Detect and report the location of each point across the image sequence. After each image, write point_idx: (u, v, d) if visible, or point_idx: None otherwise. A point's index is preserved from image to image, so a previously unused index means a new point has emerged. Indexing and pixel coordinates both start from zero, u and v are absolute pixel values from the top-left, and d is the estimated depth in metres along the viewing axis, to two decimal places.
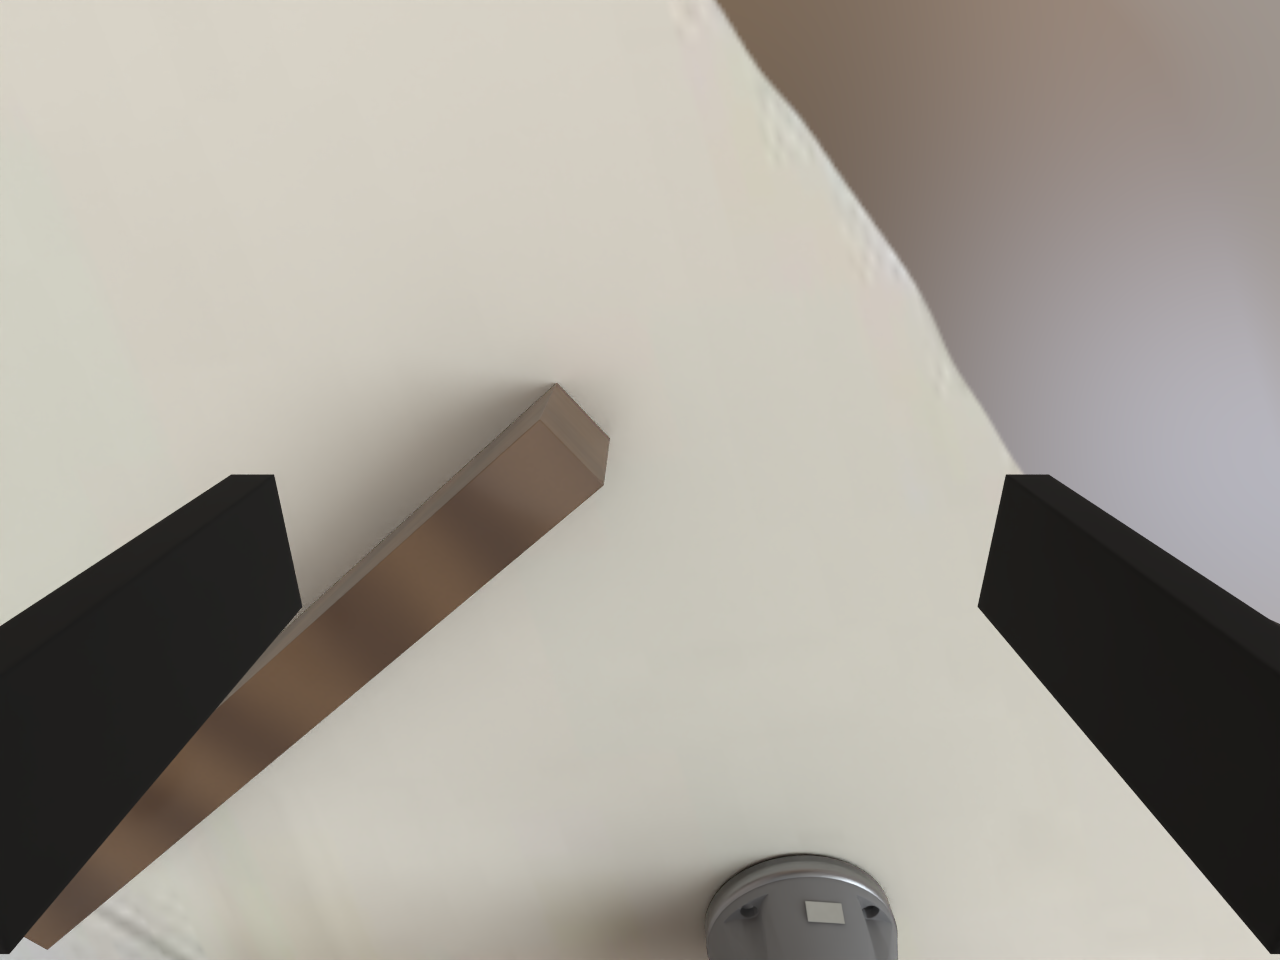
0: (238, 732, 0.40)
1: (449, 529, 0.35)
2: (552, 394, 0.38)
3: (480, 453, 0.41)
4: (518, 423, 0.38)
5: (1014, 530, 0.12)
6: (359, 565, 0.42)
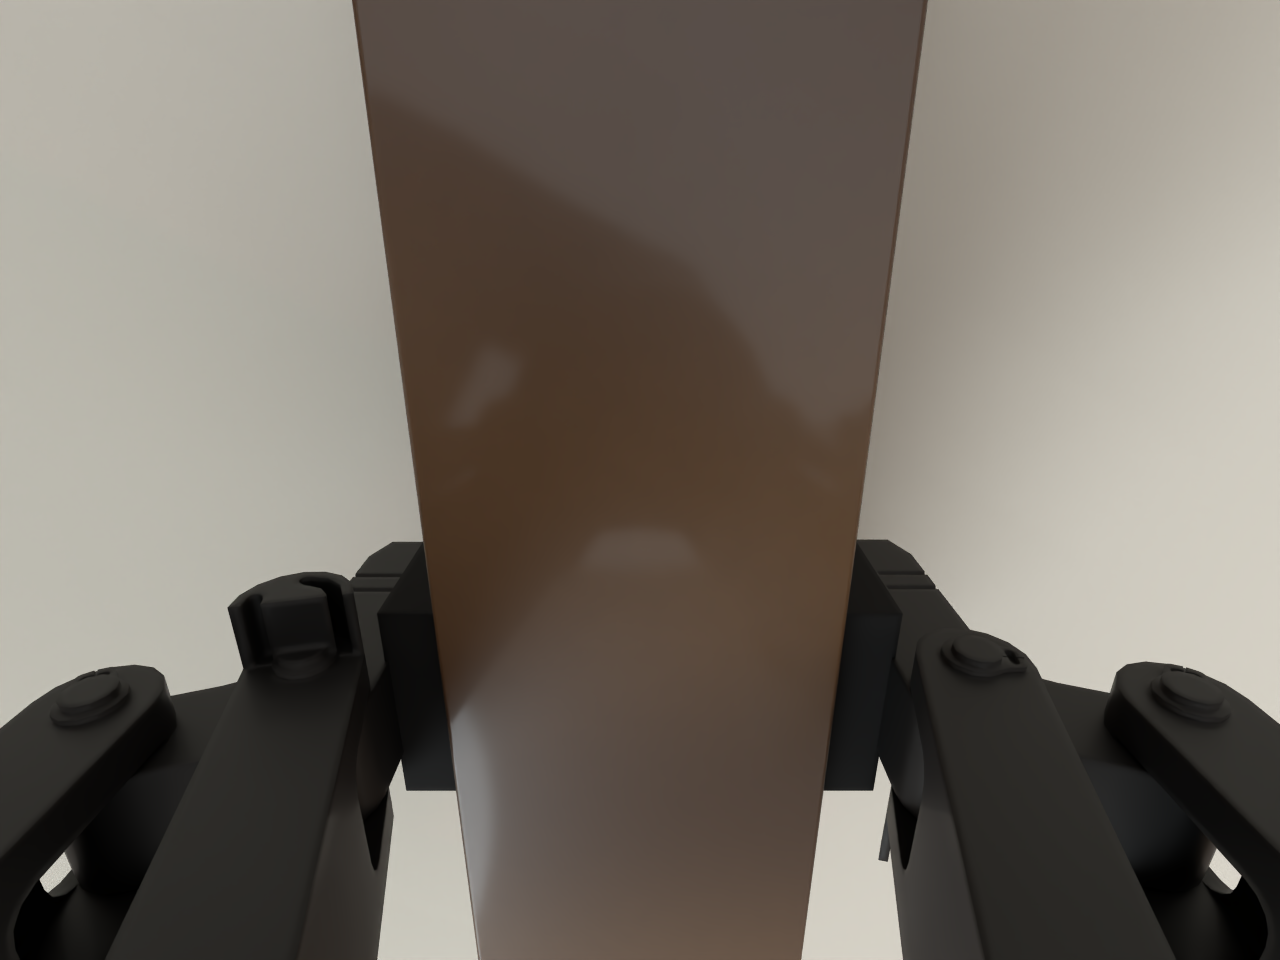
0: None
1: (738, 727, 0.08)
2: None
3: None
4: None
5: None
6: None
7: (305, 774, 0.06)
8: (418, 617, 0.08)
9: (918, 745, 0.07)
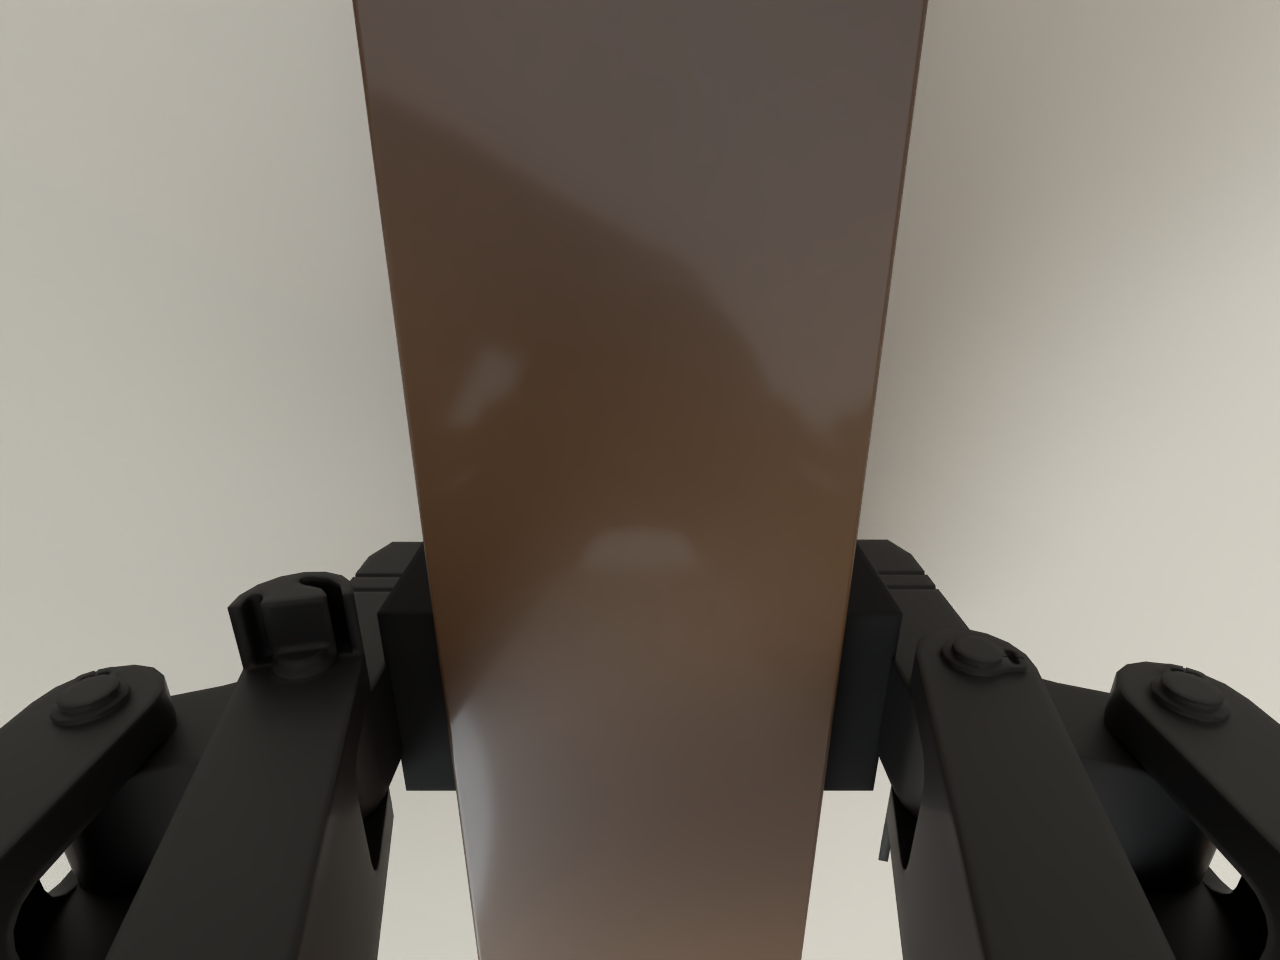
0: None
1: (738, 726, 0.08)
2: None
3: None
4: None
5: None
6: None
7: (305, 774, 0.06)
8: (419, 617, 0.08)
9: (918, 745, 0.07)
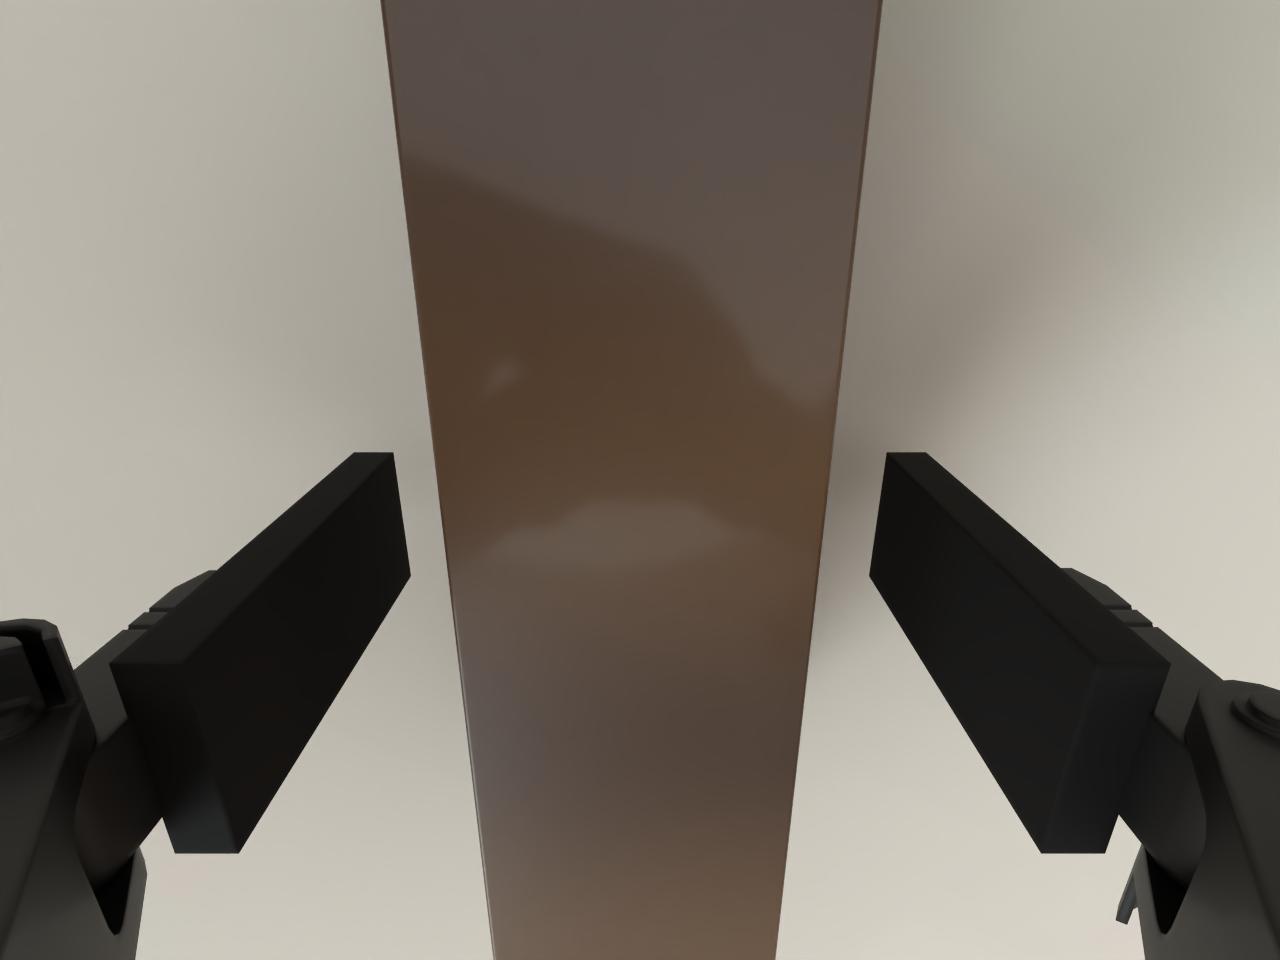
0: None
1: (722, 666, 0.09)
2: None
3: None
4: None
5: (891, 503, 0.13)
6: None
7: None
8: (158, 667, 0.07)
9: (1190, 803, 0.07)
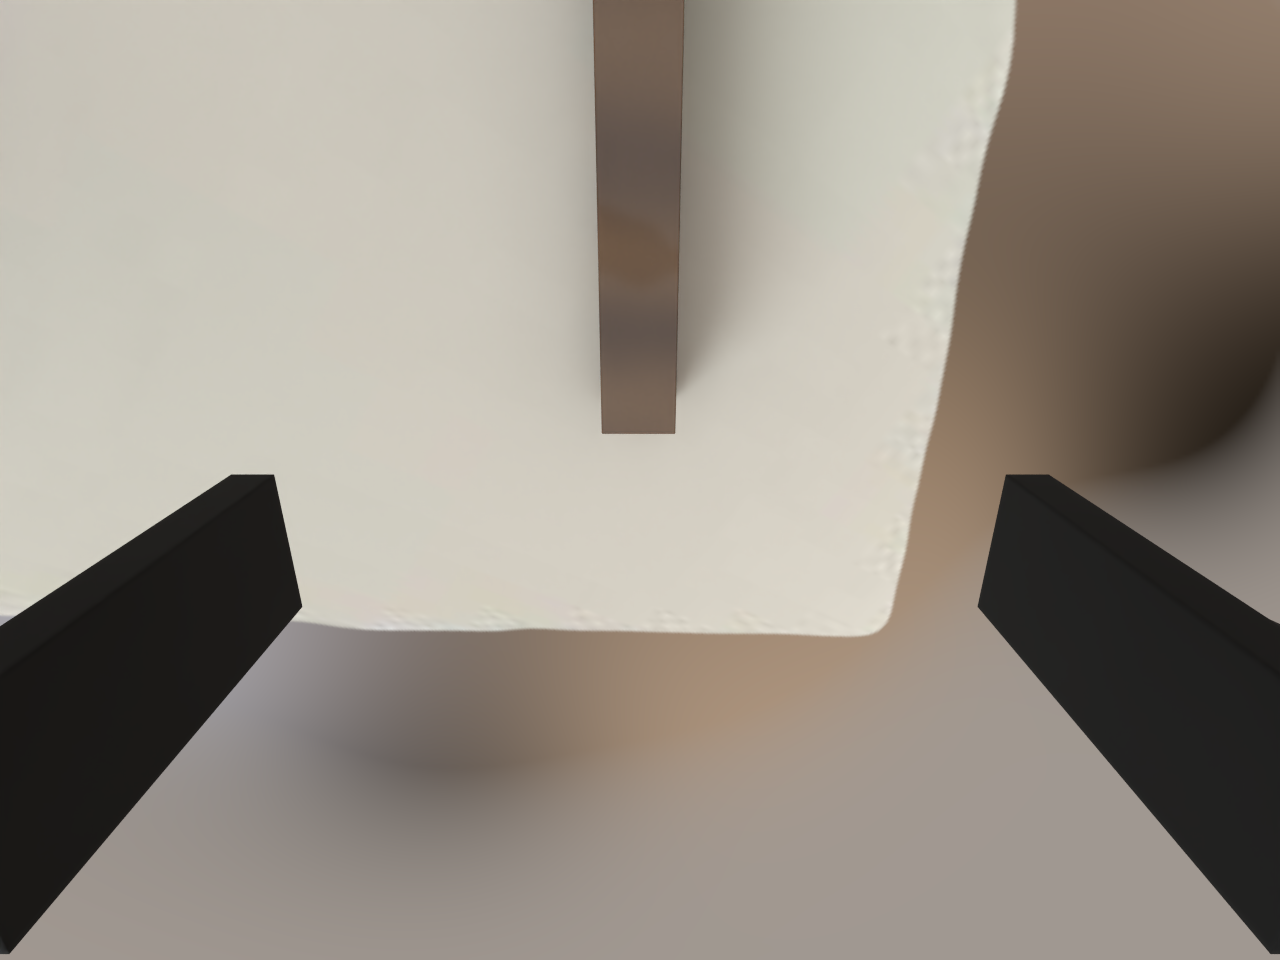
0: None
1: (658, 309, 0.40)
2: None
3: None
4: None
5: (1014, 530, 0.12)
6: None
7: None
8: None
9: None
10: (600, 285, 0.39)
